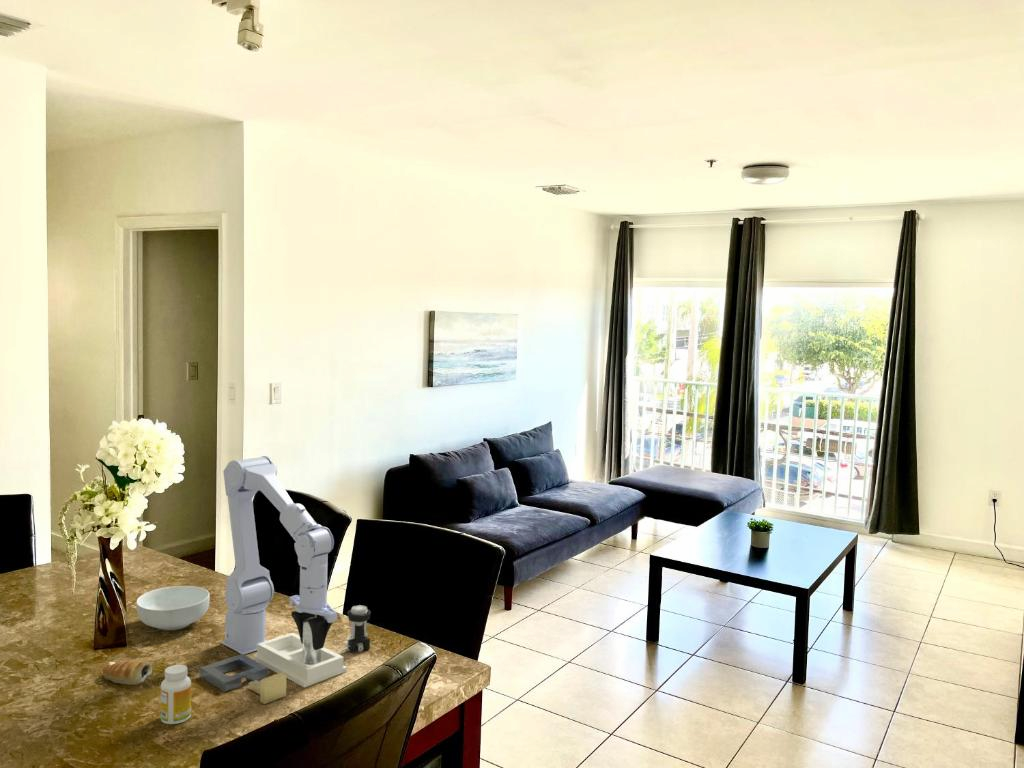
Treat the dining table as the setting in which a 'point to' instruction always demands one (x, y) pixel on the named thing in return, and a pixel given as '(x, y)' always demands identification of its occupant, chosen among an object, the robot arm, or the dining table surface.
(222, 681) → the socket
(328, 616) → the robot arm
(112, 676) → the pastry
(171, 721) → the supplement bottle
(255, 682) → the cream block
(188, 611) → the cereal bowl
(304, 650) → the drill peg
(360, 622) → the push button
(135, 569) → the dining table surface
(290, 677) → the tray
